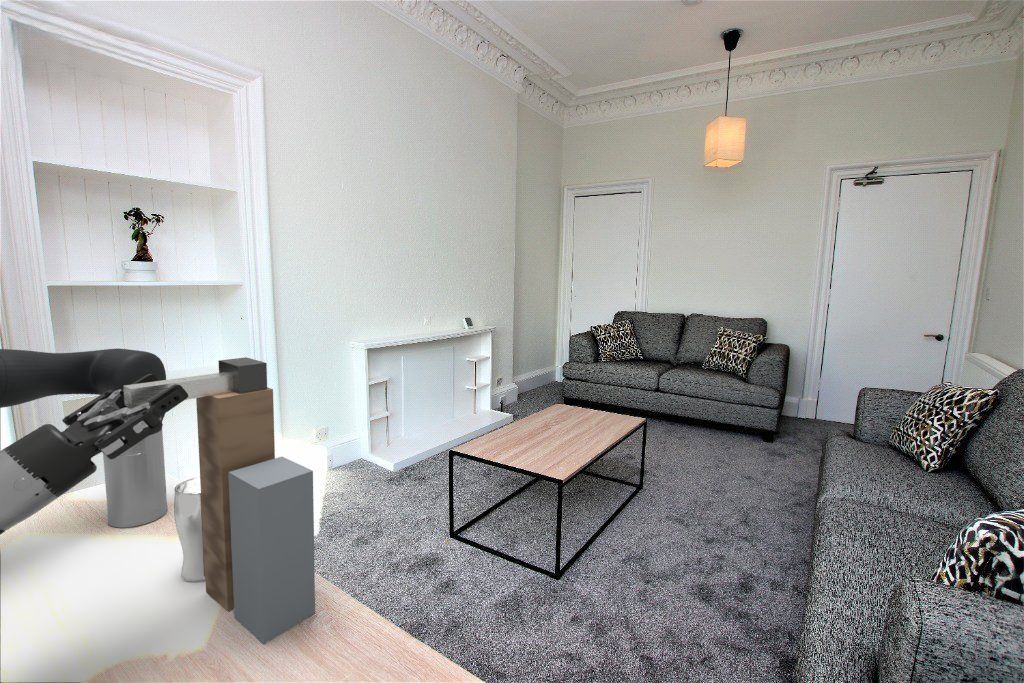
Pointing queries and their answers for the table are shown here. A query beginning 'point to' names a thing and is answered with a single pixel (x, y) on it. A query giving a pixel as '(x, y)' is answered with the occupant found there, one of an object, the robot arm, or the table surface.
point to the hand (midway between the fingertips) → (169, 384)
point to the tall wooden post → (224, 448)
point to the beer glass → (190, 528)
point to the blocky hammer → (206, 382)
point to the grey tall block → (272, 546)
